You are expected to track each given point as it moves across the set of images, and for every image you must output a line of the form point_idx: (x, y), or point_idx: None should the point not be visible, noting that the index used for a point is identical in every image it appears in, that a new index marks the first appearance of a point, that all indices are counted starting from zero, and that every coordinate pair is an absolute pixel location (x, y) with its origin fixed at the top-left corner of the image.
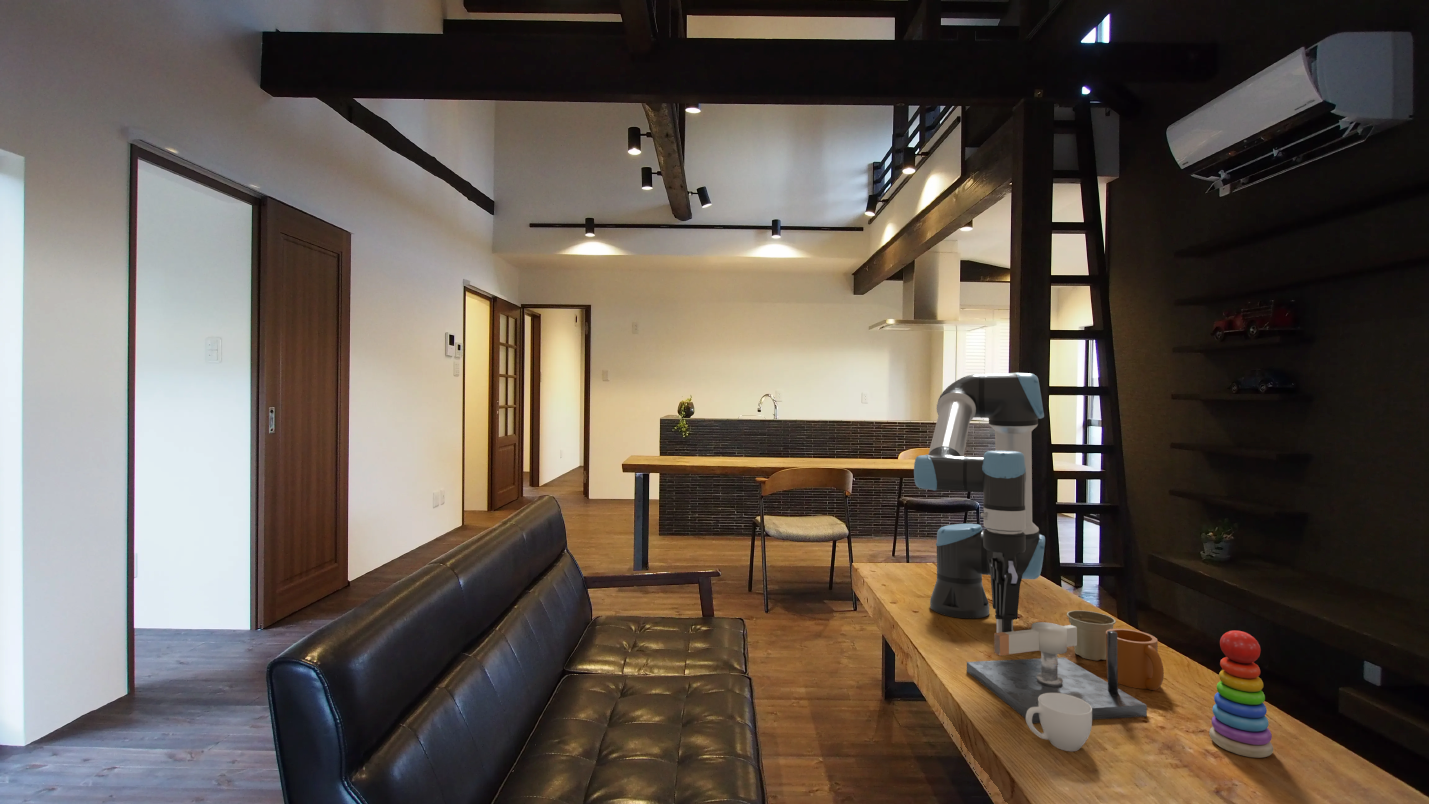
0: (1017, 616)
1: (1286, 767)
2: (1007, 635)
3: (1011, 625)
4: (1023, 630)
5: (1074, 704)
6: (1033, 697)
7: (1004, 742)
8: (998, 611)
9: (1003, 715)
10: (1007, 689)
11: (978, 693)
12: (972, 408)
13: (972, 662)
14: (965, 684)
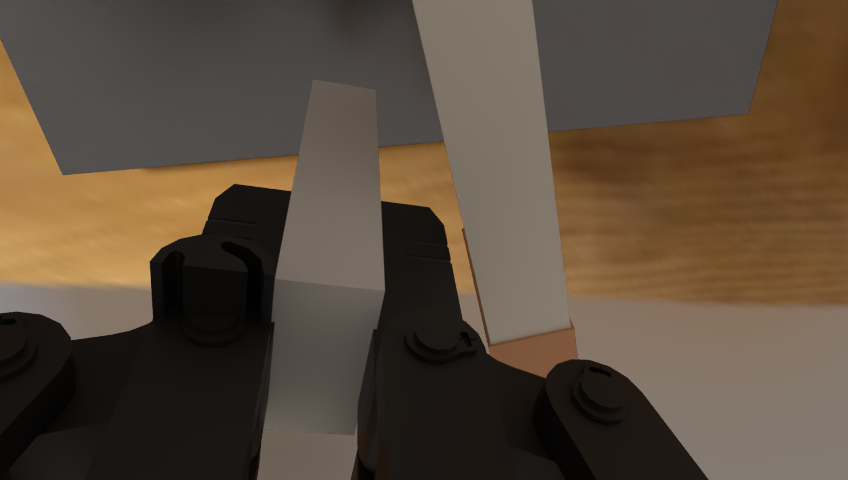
0: (621, 392)
1: None
2: (573, 336)
3: (454, 293)
4: (443, 100)
5: None
6: (606, 6)
7: (801, 264)
8: (256, 475)
9: (616, 178)
10: None
11: (384, 194)
12: None
13: (62, 143)
14: None
